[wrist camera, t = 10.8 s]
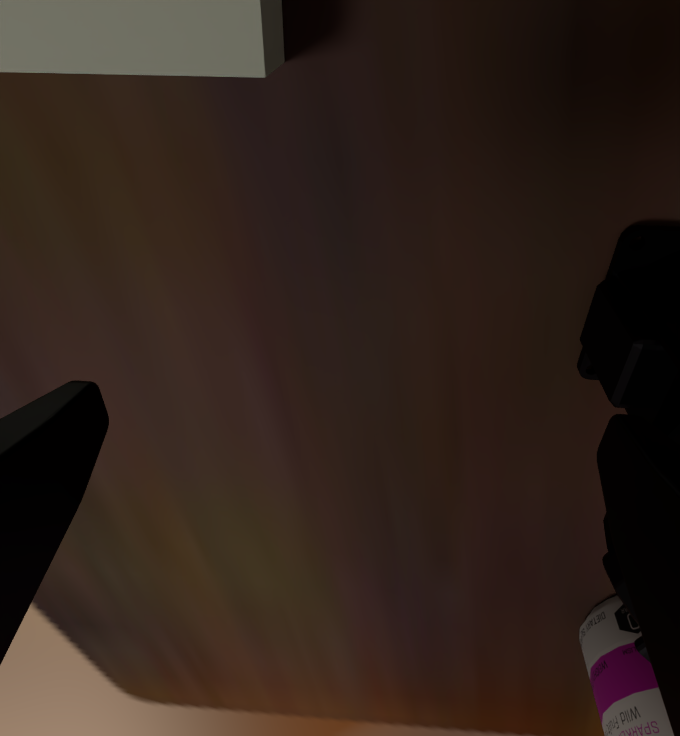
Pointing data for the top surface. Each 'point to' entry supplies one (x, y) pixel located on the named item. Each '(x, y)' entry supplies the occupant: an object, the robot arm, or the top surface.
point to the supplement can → (621, 674)
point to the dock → (142, 37)
